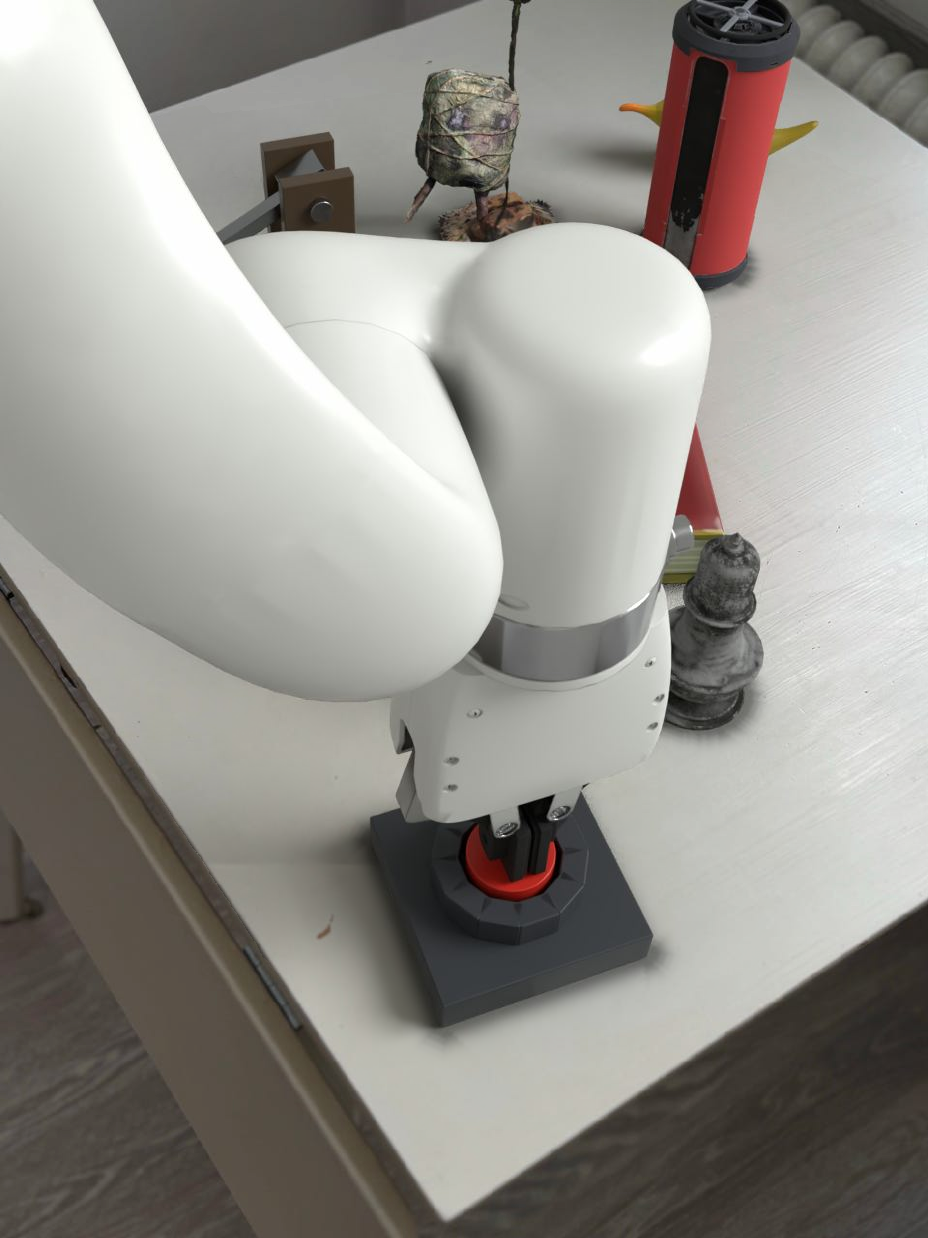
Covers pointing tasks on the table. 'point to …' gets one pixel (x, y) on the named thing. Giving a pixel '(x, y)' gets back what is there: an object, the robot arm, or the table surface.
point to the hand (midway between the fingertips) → (514, 849)
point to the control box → (507, 915)
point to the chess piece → (715, 636)
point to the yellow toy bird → (779, 137)
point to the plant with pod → (474, 151)
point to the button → (503, 874)
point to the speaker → (718, 131)
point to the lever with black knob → (268, 203)
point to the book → (695, 513)
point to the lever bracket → (309, 187)
